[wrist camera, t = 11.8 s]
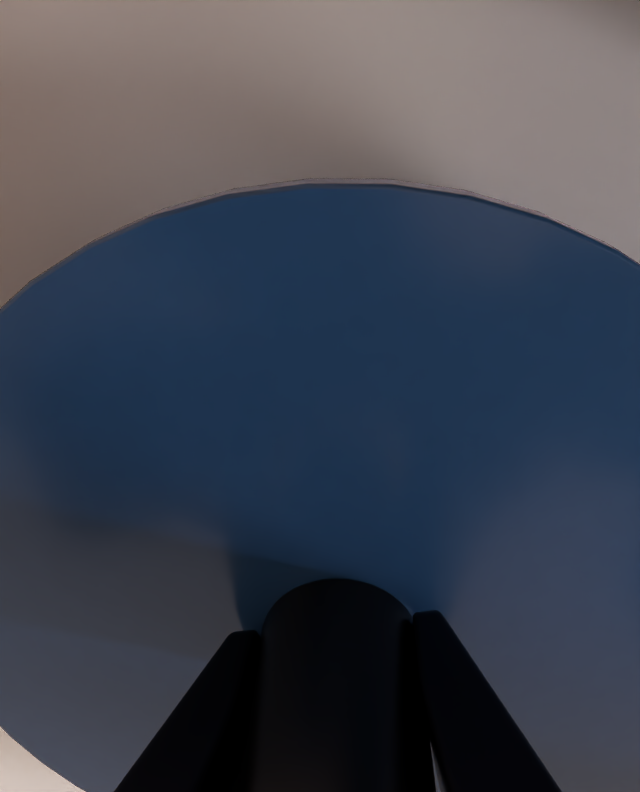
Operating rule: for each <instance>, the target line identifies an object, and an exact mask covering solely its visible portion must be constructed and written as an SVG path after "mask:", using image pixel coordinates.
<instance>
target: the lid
mask: <svg viewBox="0 0 640 792" xmlns="http://www.w3.org/2000/svg"><path fill="white" fill-rule="evenodd" d="M432 610H438V611H440V612H441V613H442V614H443V616H444V617H445V619H446V620H447V622H448V623H449V625H450V626H451V628H452V629H453V631H454V632H455V634H456V635H457V637H458V638H459V640H460V641H461V642H462V644H463V645H464V647H465V648H466V650H467V651H468V653H469V654H470V656H471V657H472V659H473V660H474V662H475V663H476V665H477V666H478V668H479V669H480V671H481V672H482V674H483V675H484V677H485V678H486V680H487V681H488V683H489V684H490V685H491V687H492V688H493V690H494V691H495V693H496V694H497V696H498V697H499V699H500V700H501V702H502V703H503V705H504V706H505V708H506V709H507V711H508V712H509V714H510V715H511V717H512V718H513V720H514V721H515V723H516V724H517V726H518V727H519V729H520V730H521V731H522V733H523V734H524V736H525V737H526V739H527V740H528V742H529V743H530V745H531V746H532V748H533V749H534V751H535V752H536V754H537V755H538V757H539V758H540V760H541V761H542V763H543V764H544V766H545V767H546V769H547V770H548V772H549V773H550V775H551V776H552V777H553V779H554V780H555V782H556V783H557V785H558V786H559V788H560V789H561V791H562V792H640V264H639V263H637V262H636V261H634V260H633V259H631V258H629V257H628V256H626V255H625V254H623V253H622V252H620V251H619V250H617V249H616V248H614V247H612V246H611V245H609V244H607V243H606V242H604V241H602V240H599V239H597V238H595V237H593V236H591V235H588V234H586V233H584V232H582V231H580V230H578V229H575V228H573V227H571V226H569V225H567V224H565V223H562V222H560V221H558V220H556V219H554V218H551V217H549V216H547V215H545V214H543V213H541V212H538V211H535V210H532V209H528V208H525V207H521V206H518V205H515V204H511V203H508V202H504V201H501V200H497V199H494V198H491V197H487V196H484V195H480V194H477V193H474V192H470V191H467V190H461V189H454V188H448V187H441V186H434V185H427V184H420V183H413V182H406V181H399V180H392V179H324V178H309V179H302V180H294V181H287V182H279V183H272V184H265V185H257V186H250V187H242V188H235V189H231V190H227V191H224V192H220V193H217V194H213V195H209V196H206V197H202V198H199V199H195V200H192V201H188V202H185V203H181V204H177V205H174V206H170V207H167V208H163V209H161V210H159V211H157V212H154V213H152V214H150V215H148V216H145V217H143V218H141V219H139V220H136V221H134V222H132V223H130V224H127V225H125V226H123V227H121V228H119V229H116V230H114V231H112V232H110V233H107V234H105V235H103V236H101V237H99V238H97V239H95V240H93V241H92V242H90V243H88V244H87V245H85V246H84V247H82V248H80V249H79V250H77V251H76V252H74V253H73V254H71V255H70V256H68V257H67V258H65V259H63V260H62V261H60V262H59V263H57V264H56V265H54V266H53V267H51V268H50V269H48V270H47V271H45V272H43V273H42V274H40V275H39V276H37V277H36V278H34V279H33V280H31V281H30V282H29V283H28V284H27V285H25V286H24V287H23V288H22V289H21V290H20V291H19V292H18V293H17V294H16V295H14V296H13V297H12V298H11V299H10V300H9V301H8V302H7V303H6V304H5V305H3V306H2V307H1V308H0V727H1V728H2V729H3V730H4V731H5V732H6V733H7V734H8V735H9V736H10V737H11V738H13V739H14V740H15V741H16V742H18V743H19V744H20V745H21V746H22V747H24V748H25V749H26V750H27V751H28V752H30V753H31V754H32V755H33V756H34V757H36V758H37V759H38V760H39V761H40V762H42V763H43V764H44V765H46V766H47V767H49V768H50V769H52V770H53V771H55V772H56V773H58V774H59V775H61V776H62V777H64V778H65V779H67V780H68V781H69V782H71V783H72V784H74V785H75V786H77V787H79V788H81V789H82V790H84V791H86V792H114V791H115V789H116V788H117V787H118V785H119V784H120V782H121V781H122V780H123V778H124V777H125V776H126V774H127V773H128V772H129V770H130V769H131V767H132V766H133V765H134V763H135V762H136V761H137V759H138V758H139V757H140V755H141V754H142V752H143V751H144V750H145V748H146V747H147V746H148V744H149V743H150V742H151V740H152V739H153V737H154V736H155V735H156V733H157V732H158V731H159V729H160V728H161V727H162V725H163V724H164V722H165V721H166V720H167V718H168V717H169V716H170V714H171V713H172V711H173V710H174V709H175V707H176V706H177V705H178V703H179V702H180V701H181V699H182V698H183V696H184V695H185V694H186V692H187V691H188V690H189V688H190V687H191V686H192V684H193V683H194V681H195V680H196V679H197V677H198V676H199V675H200V673H201V672H202V671H203V669H204V668H205V666H206V665H207V664H208V662H209V661H210V660H211V658H212V657H213V656H214V654H215V653H216V651H217V650H218V649H219V647H220V646H221V645H222V643H223V642H224V641H225V639H226V638H227V637H228V635H230V634H231V633H232V632H236V631H245V630H255V631H257V632H258V634H259V636H260V638H261V642H260V648H259V654H258V660H257V666H256V672H255V678H254V684H253V690H252V696H251V702H250V707H249V713H248V719H247V725H246V731H245V737H244V743H243V749H242V755H241V761H240V767H239V773H238V779H237V785H236V791H235V792H440V788H439V783H438V779H437V774H436V769H435V764H434V759H433V753H432V748H431V742H430V735H429V730H428V725H427V720H426V716H425V710H424V705H423V699H422V694H421V689H420V682H419V676H418V666H417V656H416V646H415V636H414V626H413V615H414V613H416V612H423V611H432Z"/></svg>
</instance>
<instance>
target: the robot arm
mask: <svg viewBox="0 0 640 792" xmlns="http://www.w3.org/2000/svg"><path fill="white" fill-rule="evenodd" d="M413 626H414V636H415V646H416V656H417V666H418V676H419V682H420V689H421V694H422V699H423V705H424V710H425V716H426V720H427V725H428V730H429V735H430V742H431V748H432V753H433V759H434V764H435V769H436V774H437V779H438V783H439V788H440V792H562V791H561V789H560V788H559V786H558V785H557V783H556V782H555V780H554V779H553V777H552V776H551V775H550V773H549V772H548V770H547V769H546V767H545V766H544V764H543V763H542V761H541V760H540V758H539V757H538V755H537V754H536V752H535V751H534V749H533V748H532V746H531V745H530V743H529V742H528V740H527V739H526V737H525V736H524V734H523V733H522V731H521V730H520V729H519V727H518V726H517V724H516V723H515V721H514V720H513V718H512V717H511V715H510V714H509V712H508V711H507V709H506V708H505V706H504V705H503V703H502V702H501V700H500V699H499V697H498V696H497V694H496V693H495V691H494V690H493V688H492V687H491V685H490V684H489V683H488V681H487V680H486V678H485V677H484V675H483V674H482V672H481V671H480V669H479V668H478V666H477V665H476V663H475V662H474V660H473V659H472V657H471V656H470V654H469V653H468V651H467V650H466V648H465V647H464V645H463V644H462V642H461V641H460V640H459V638H458V637H457V635H456V634H455V632H454V631H453V629H452V628H451V626H450V625H449V623H448V622H447V620H446V619H445V617H444V616H443V614H442V613H441V612H440V611H438V610H432V611H423V612H416V613H414V615H413ZM260 642H261V638H260V636H259V634H258V632H257V631H255V630H245V631H236V632H232V633H231V634H230V635H228V637H227V638H226V639H225V641H224V642H223V643H222V645H221V646H220V647H219V649H218V650H217V651H216V653H215V654H214V656H213V657H212V658H211V660H210V661H209V662H208V664H207V665H206V666H205V668H204V669H203V671H202V672H201V673H200V675H199V676H198V677H197V679H196V680H195V681H194V683H193V684H192V686H191V687H190V688H189V690H188V691H187V692H186V694H185V695H184V696H183V698H182V699H181V701H180V702H179V703H178V705H177V706H176V707H175V709H174V710H173V711H172V713H171V714H170V716H169V717H168V718H167V720H166V721H165V722H164V724H163V725H162V727H161V728H160V729H159V731H158V732H157V733H156V735H155V736H154V737H153V739H152V740H151V742H150V743H149V744H148V746H147V747H146V748H145V750H144V751H143V752H142V754H141V755H140V757H139V758H138V759H137V761H136V762H135V763H134V765H133V766H132V767H131V769H130V770H129V772H128V773H127V774H126V776H125V777H124V778H123V780H122V781H121V782H120V784H119V785H118V787H117V788H116V789H115V791H114V792H235V791H236V785H237V779H238V773H239V767H240V761H241V755H242V749H243V743H244V737H245V731H246V725H247V719H248V713H249V707H250V702H251V696H252V690H253V684H254V678H255V672H256V666H257V660H258V654H259V648H260Z"/></svg>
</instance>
